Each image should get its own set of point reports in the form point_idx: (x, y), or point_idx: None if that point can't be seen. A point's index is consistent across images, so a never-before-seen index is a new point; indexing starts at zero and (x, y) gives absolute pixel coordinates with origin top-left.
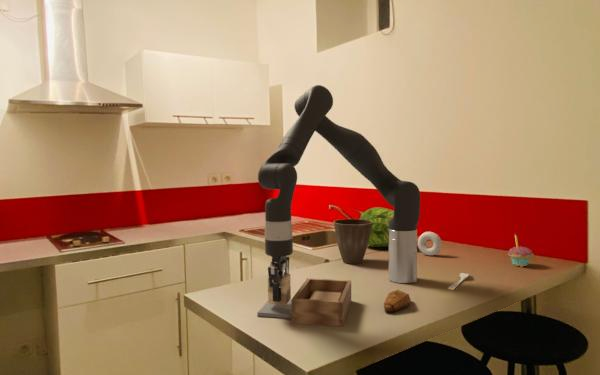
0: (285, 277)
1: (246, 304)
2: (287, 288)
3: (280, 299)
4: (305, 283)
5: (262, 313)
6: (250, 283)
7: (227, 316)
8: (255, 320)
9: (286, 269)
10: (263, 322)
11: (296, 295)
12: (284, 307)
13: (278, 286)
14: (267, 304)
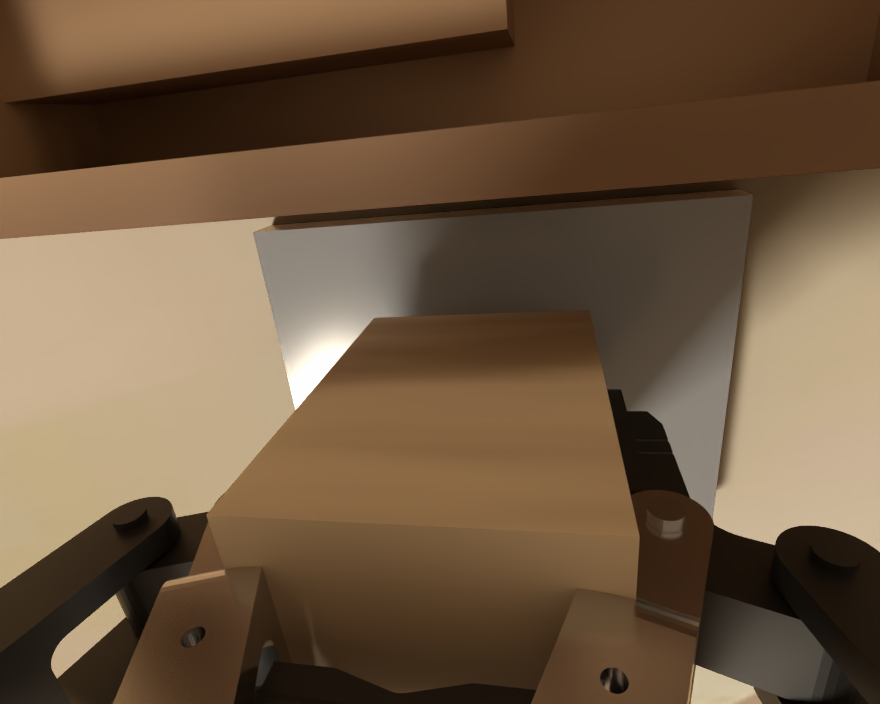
0: (512, 561)
1: None
2: (504, 394)
3: (622, 399)
4: (94, 194)
5: (717, 478)
6: (54, 665)
7: (728, 679)
8: (815, 491)
9: (236, 691)
10: (873, 417)
11: (867, 123)
12: None
13: (876, 555)
14: None
